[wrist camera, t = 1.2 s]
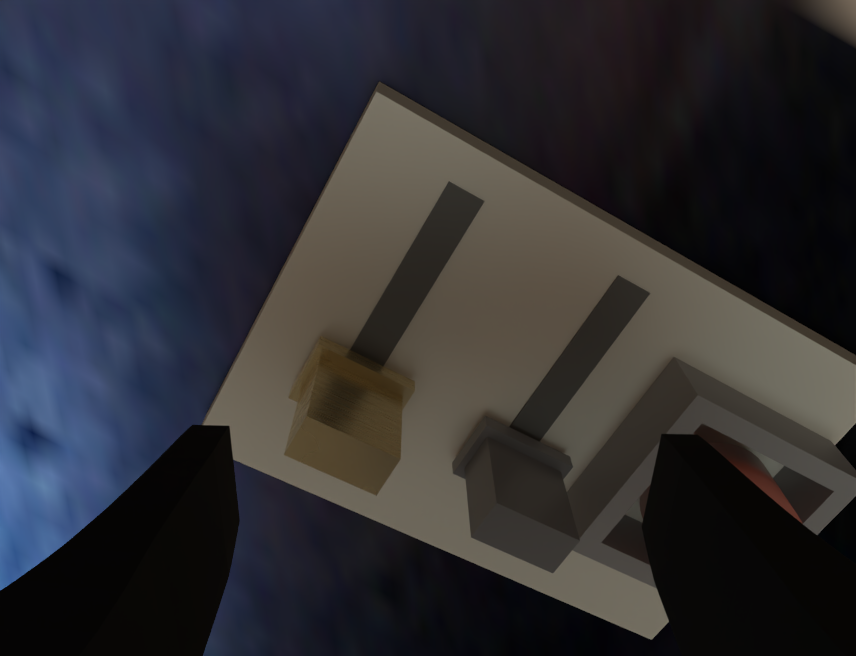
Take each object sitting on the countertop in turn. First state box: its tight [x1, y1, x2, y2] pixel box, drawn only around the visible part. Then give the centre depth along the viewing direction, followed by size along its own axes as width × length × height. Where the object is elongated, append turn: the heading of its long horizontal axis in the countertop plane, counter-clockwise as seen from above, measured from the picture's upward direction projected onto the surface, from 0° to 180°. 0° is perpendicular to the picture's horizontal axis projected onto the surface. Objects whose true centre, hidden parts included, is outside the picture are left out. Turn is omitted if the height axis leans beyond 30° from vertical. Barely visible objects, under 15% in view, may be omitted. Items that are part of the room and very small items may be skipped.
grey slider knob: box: [452, 416, 580, 573], centre depth 21 cm, size 3×2×3 cm, turn 60°
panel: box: [202, 81, 856, 640], centre depth 22 cm, size 16×11×4 cm
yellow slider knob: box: [284, 336, 415, 496], centre depth 20 cm, size 3×2×3 cm, turn 60°
